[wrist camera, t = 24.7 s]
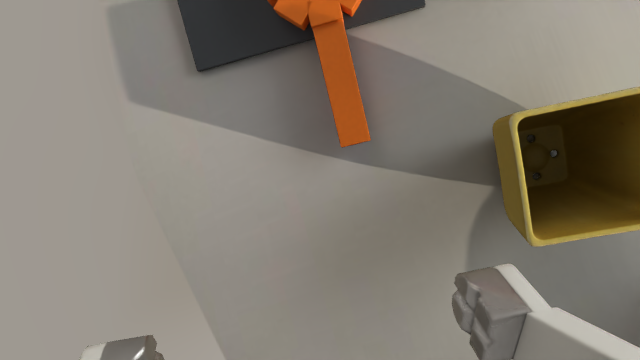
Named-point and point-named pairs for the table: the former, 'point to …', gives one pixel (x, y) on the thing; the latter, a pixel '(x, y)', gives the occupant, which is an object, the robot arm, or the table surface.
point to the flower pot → (572, 168)
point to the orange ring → (332, 60)
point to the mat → (260, 27)
